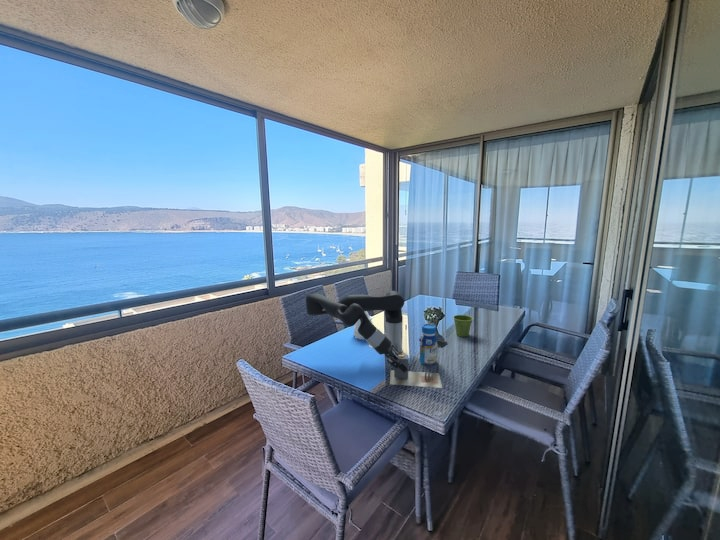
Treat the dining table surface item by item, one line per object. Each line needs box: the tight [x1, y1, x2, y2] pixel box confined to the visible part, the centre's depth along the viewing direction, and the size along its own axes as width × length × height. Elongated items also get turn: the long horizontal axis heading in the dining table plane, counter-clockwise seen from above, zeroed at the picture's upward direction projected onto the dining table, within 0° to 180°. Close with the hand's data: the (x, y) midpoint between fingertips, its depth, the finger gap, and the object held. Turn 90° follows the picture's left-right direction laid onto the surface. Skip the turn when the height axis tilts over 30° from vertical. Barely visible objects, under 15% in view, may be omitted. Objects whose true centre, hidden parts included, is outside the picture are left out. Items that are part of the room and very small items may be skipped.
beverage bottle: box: [419, 323, 438, 366], centre depth 142 cm, size 8×8×20 cm
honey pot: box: [353, 311, 373, 340], centre depth 180 cm, size 13×13×18 cm
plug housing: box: [393, 353, 409, 378], centre depth 128 cm, size 6×4×10 cm, turn 81°
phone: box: [418, 338, 448, 348], centre depth 171 cm, size 8×1×15 cm
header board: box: [389, 369, 443, 389], centre depth 128 cm, size 22×12×4 cm, turn 82°
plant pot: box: [452, 314, 474, 338], centre depth 180 cm, size 12×12×11 cm
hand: (405, 368), depth 128 cm, fingers closed on plug housing, 4 cm apart
